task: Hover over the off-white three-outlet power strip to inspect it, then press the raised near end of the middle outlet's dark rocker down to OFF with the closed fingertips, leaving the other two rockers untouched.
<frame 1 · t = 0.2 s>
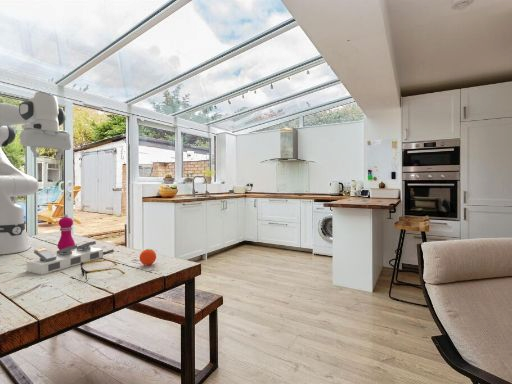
hand: (47, 158, 131), 47 cm above the table, fingers open, 8 cm apart
clementine: (149, 265, 125), on the table
eyeglasses: (101, 273, 115), on the table
rocker 1: (45, 254, 117), point 6 cm above the table, hinge at 20.0°
power strip: (68, 263, 125), on the table
pepper mill: (66, 254, 140), on the table
rocker 2: (67, 249, 125), point 6 cm above the table, hinge at -20.0°
rocker 3: (86, 245, 133), point 6 cm above the table, hinge at -20.0°
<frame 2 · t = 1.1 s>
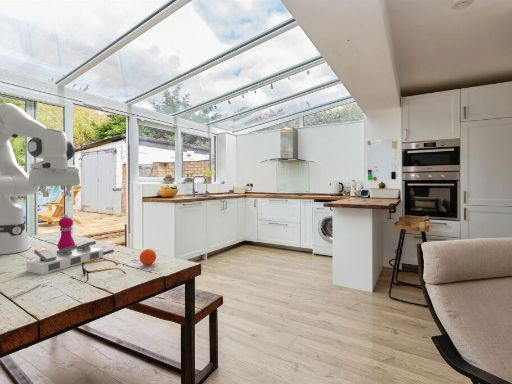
hand: (56, 196, 127), 30 cm above the table, fingers open, 8 cm apart
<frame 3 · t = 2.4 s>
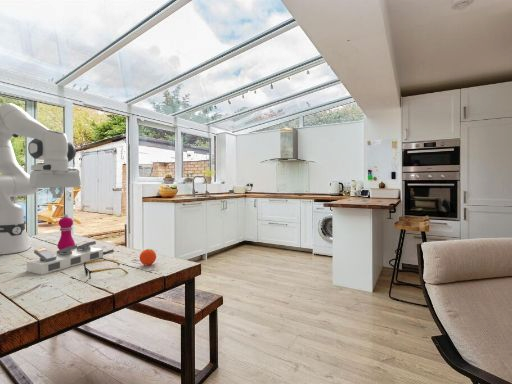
hand: (57, 198, 126), 29 cm above the table, fingers closed
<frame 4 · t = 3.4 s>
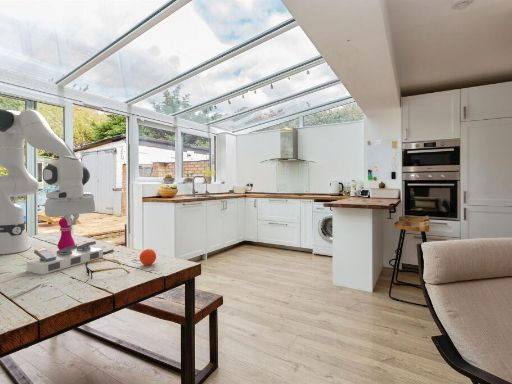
hand: (72, 225, 123), 17 cm above the table, fingers closed
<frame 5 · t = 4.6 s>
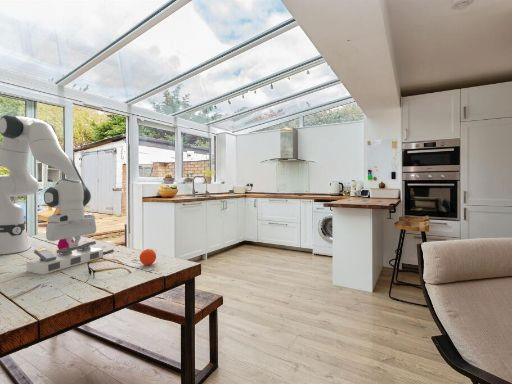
hand: (73, 247, 123), 8 cm above the table, fingers closed, pressing on rocker 2
rocker 2: (67, 249, 125), point 6 cm above the table, hinge at -13.6°, touching gripper
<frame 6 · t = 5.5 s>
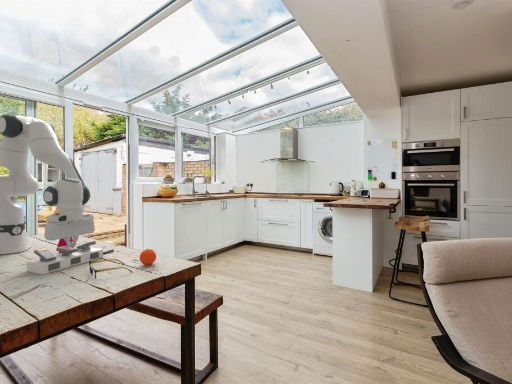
hand: (71, 246, 124), 8 cm above the table, fingers closed
rocker 2: (67, 249, 125), point 6 cm above the table, hinge at 2.3°
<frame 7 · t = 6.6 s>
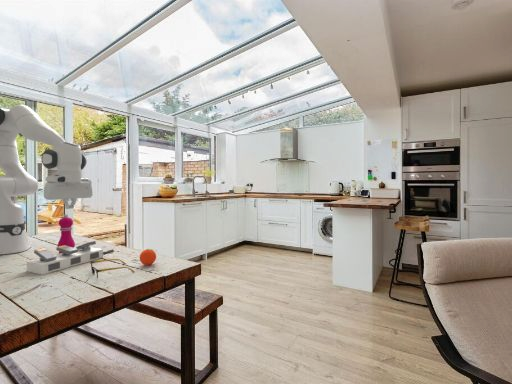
hand: (69, 208, 128), 24 cm above the table, fingers closed
rocker 2: (67, 249, 125), point 6 cm above the table, hinge at 6.6°
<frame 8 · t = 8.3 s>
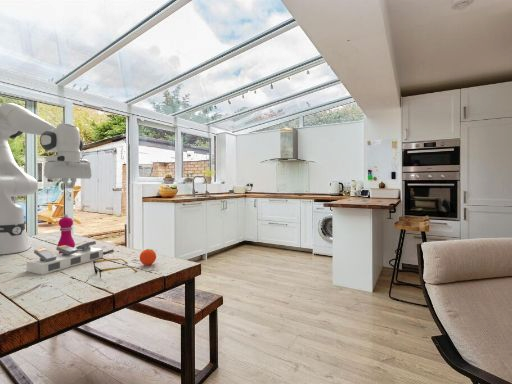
hand: (69, 188, 132), 33 cm above the table, fingers closed
rocker 2: (67, 249, 125), point 6 cm above the table, hinge at 7.9°
at the end: rocker 2 at +8° (first picture: -20°); rocker 1 at +20° (first picture: +20°); rocker 3 at -20° (first picture: -20°) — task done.
